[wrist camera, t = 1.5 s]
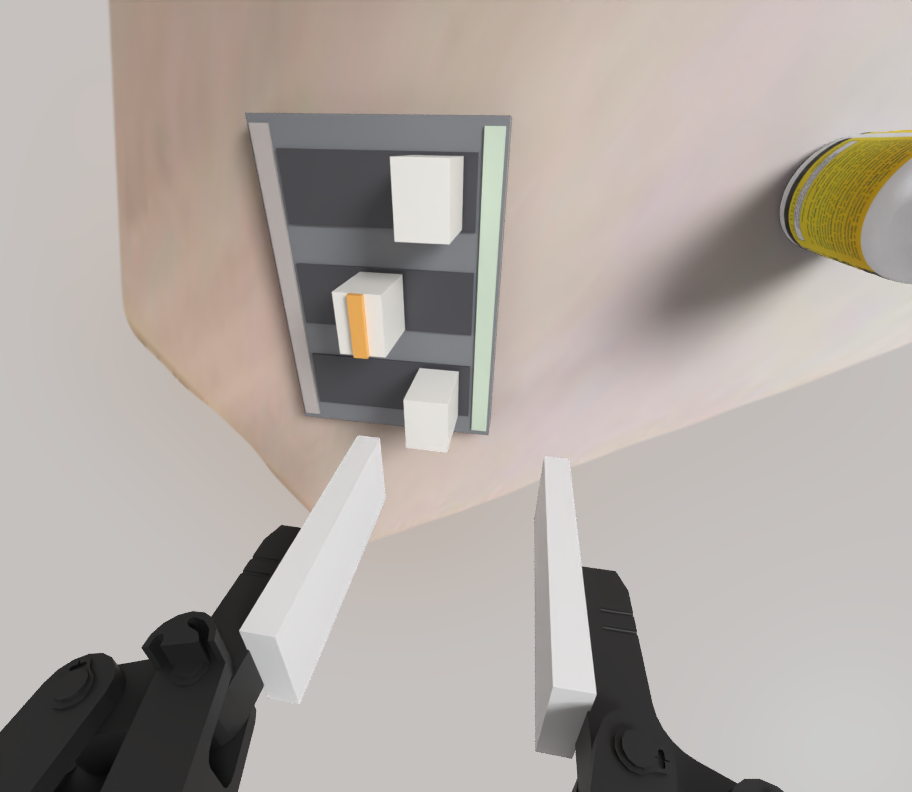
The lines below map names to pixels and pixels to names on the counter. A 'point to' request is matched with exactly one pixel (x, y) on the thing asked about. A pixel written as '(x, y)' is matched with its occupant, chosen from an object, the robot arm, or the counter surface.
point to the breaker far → (431, 409)
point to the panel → (384, 254)
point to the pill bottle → (856, 203)
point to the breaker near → (427, 198)
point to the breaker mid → (369, 314)
